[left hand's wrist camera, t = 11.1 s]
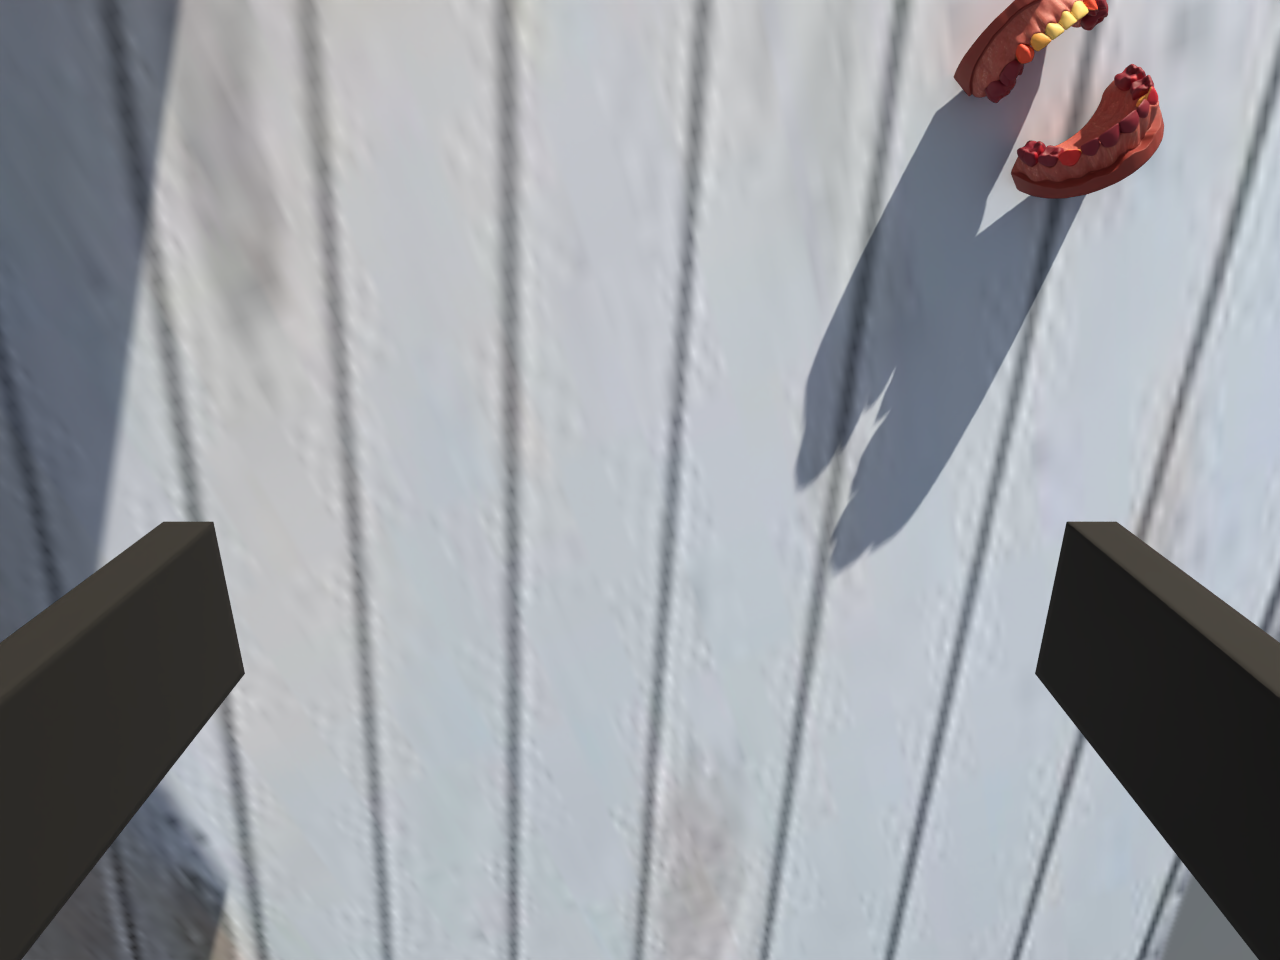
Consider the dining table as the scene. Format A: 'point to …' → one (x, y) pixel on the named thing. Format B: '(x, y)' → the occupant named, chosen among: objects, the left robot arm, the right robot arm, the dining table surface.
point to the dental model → (1109, 138)
